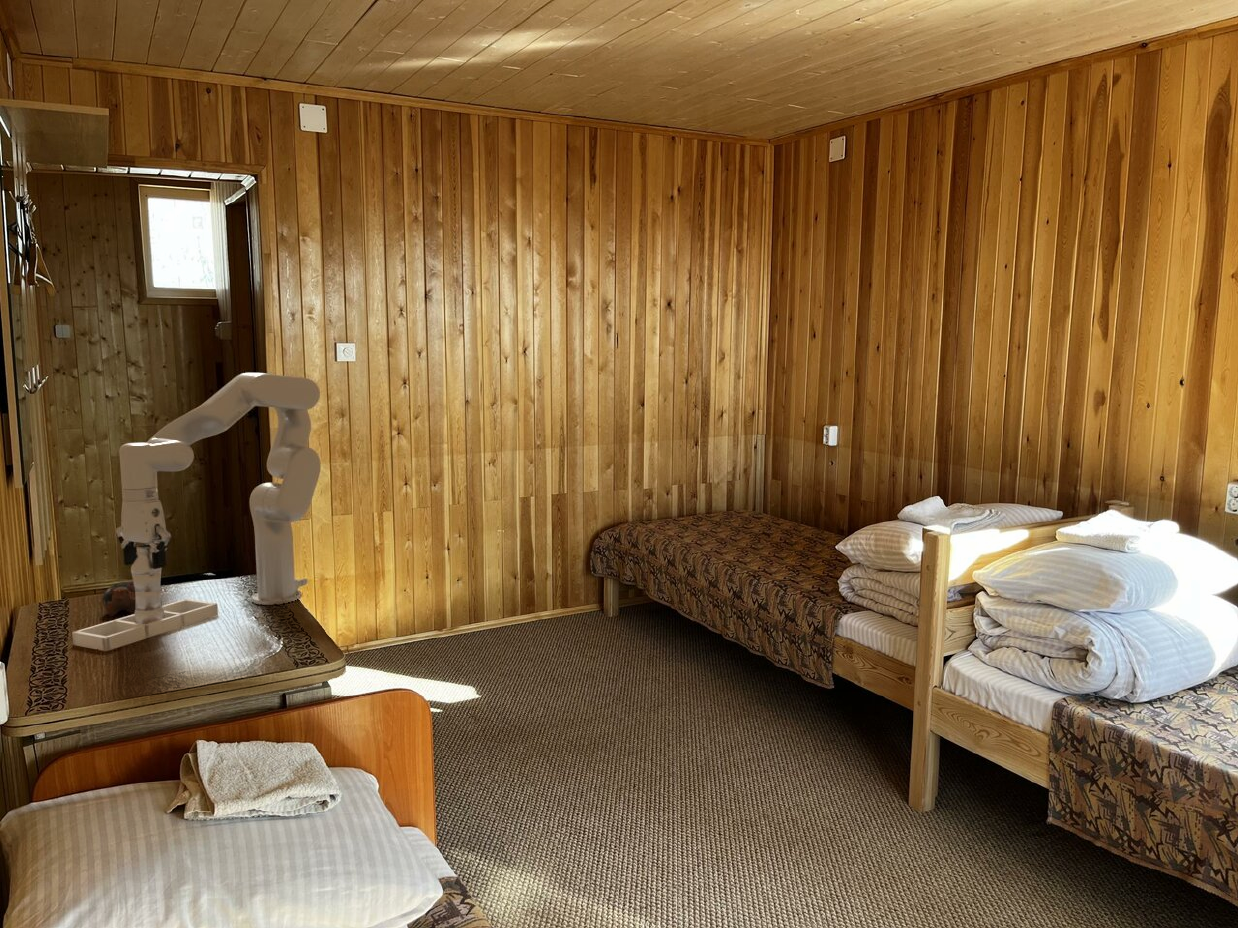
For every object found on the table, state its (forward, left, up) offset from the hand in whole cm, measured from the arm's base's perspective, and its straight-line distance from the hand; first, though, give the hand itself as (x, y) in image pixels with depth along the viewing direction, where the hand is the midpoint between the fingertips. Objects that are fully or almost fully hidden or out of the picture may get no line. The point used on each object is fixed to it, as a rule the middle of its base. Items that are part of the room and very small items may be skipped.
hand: (145, 565), depth 221 cm
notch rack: (0, 0, -16) cm, 16 cm away
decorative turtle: (-8, -19, -16) cm, 26 cm away
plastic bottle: (0, 0, -16) cm, 16 cm away
